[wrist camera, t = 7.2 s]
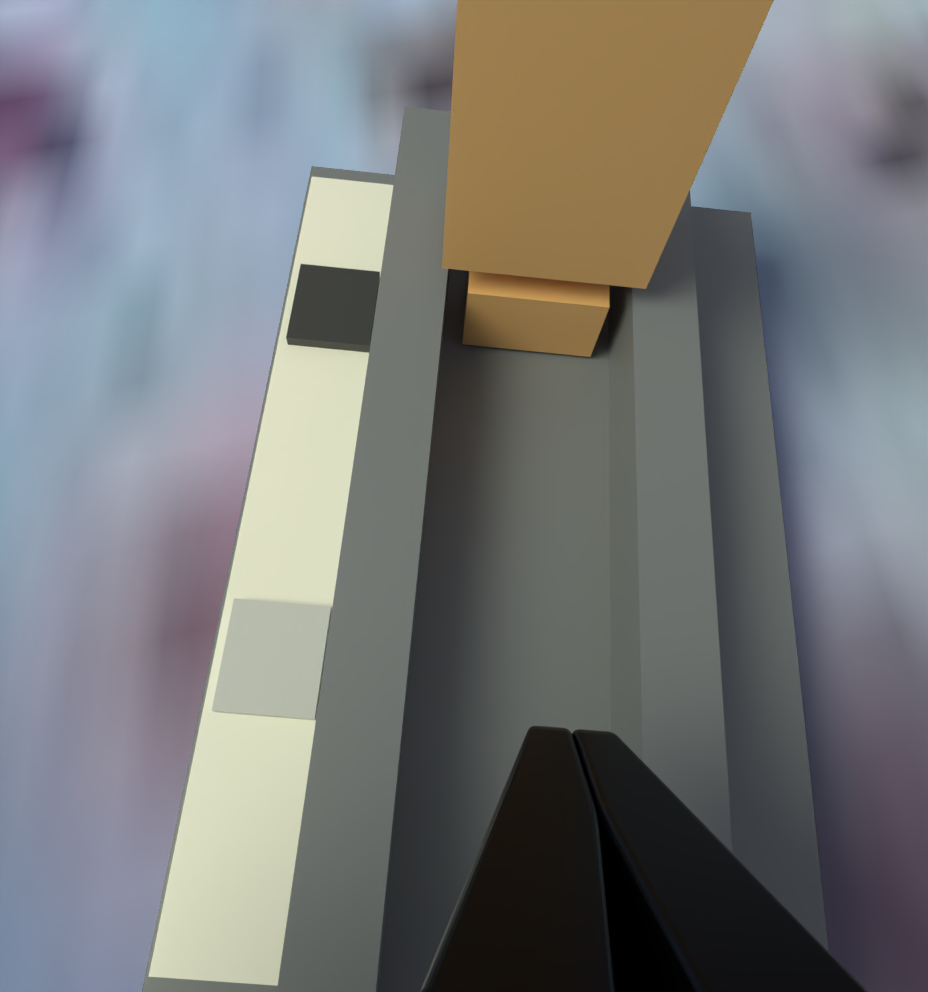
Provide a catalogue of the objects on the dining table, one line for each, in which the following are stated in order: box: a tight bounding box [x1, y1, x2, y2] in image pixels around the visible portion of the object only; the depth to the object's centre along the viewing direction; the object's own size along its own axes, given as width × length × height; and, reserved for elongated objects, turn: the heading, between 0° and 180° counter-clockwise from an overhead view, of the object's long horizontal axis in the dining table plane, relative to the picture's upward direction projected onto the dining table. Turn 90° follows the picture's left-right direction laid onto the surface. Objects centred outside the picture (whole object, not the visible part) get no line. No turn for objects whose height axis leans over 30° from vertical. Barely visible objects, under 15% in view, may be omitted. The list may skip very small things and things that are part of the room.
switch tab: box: [442, 0, 774, 357], centre depth 11 cm, size 2×4×11 cm, turn 86°
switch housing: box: [142, 107, 829, 992], centre depth 14 cm, size 16×10×3 cm, turn 176°
